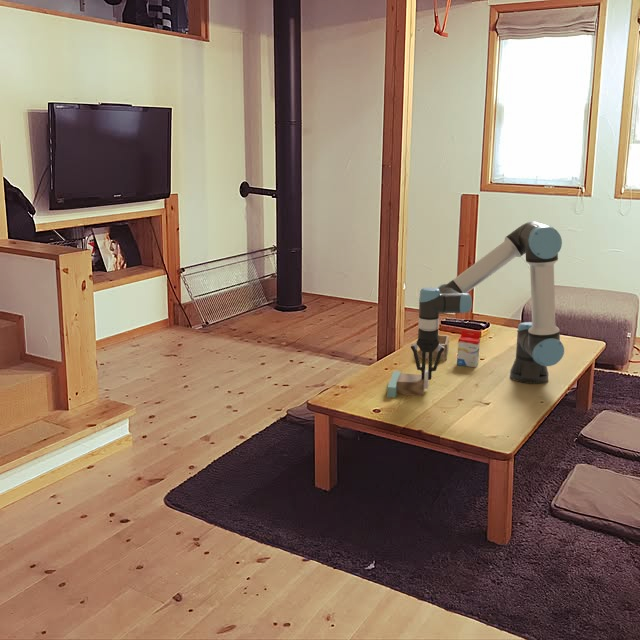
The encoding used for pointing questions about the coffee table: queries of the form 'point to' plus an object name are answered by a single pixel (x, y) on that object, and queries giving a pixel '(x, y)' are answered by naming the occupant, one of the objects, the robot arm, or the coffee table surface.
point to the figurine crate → (443, 342)
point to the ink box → (468, 348)
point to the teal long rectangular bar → (393, 384)
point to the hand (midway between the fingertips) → (426, 387)
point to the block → (410, 384)
